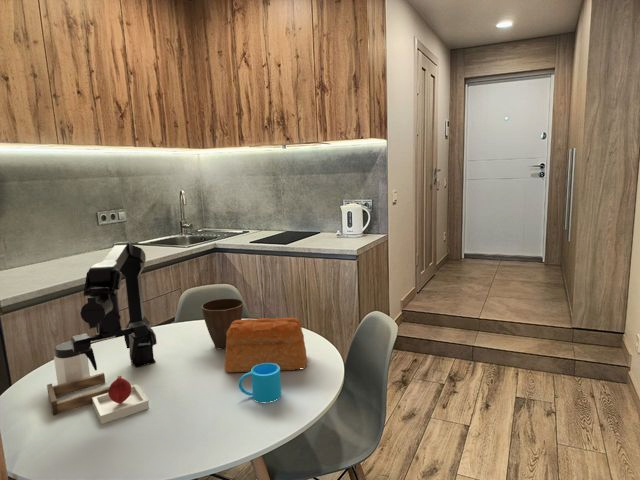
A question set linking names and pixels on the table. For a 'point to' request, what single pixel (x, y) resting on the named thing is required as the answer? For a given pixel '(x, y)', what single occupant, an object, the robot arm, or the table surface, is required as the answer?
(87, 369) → the jar
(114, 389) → the onion
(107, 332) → the robot arm
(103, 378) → the bay
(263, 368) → the mug
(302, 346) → the bread
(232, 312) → the plant pot
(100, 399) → the tray
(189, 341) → the table surface
